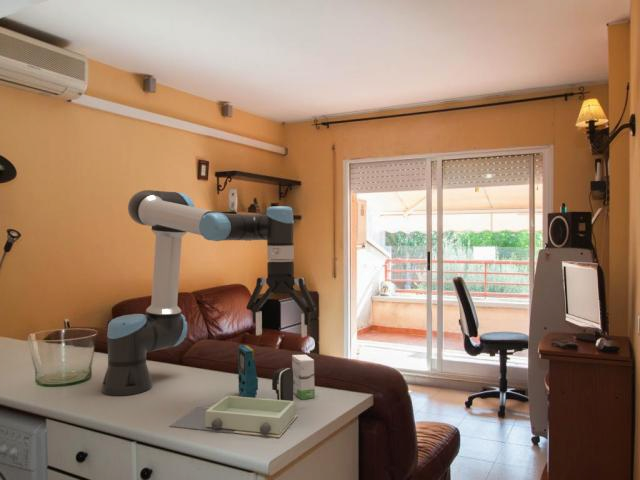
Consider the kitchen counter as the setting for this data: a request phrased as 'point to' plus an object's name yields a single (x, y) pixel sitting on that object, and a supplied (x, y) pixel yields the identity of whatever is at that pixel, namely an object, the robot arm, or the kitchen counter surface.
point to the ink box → (303, 376)
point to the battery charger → (283, 384)
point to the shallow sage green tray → (250, 414)
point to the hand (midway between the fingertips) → (281, 335)
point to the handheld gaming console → (247, 372)
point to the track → (197, 422)
